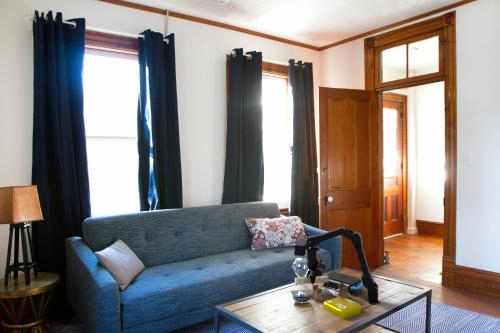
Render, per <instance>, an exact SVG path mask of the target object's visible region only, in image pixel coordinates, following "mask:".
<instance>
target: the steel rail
mask: <svg viewBox="0 0 500 333" xmlns="http://www.w3.org/2000/svg"><path fill="white" fill-rule="evenodd" d="M325 282H329V277H328V276H327V275H326V276H316V279H315V282H314V284H321V283H323V284H324V283H325ZM294 284H295V285H305V284H306V285H309V284H311V285H312V283H311V280H310V277H307V276H299V277H298V276H297V277H294Z"/></svg>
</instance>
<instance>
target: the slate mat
mask: <svg viewBox="0 0 500 333" xmlns="http://www.w3.org/2000/svg"><path fill="white" fill-rule="evenodd" d="M321 289H322V297H328V296H333V295H334V294H333V293H332V292H331V291H330V290H329V289H328V287H326V288H325V287H324V288H321ZM299 291H301V292H303V293H305V294H306V295H307V296H309V297H308V298H312V297H313V288H312V289H309V288H308V289H297V290H290V293H291V295H292V296H293V297H294V296H295V295H296V294H298V292H299Z"/></svg>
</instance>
